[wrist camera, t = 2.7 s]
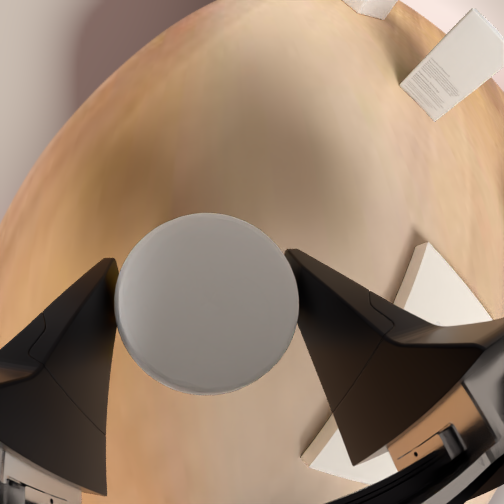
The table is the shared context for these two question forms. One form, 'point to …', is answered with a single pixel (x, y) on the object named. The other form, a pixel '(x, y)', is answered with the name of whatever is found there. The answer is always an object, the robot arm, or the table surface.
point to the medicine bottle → (372, 7)
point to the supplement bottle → (206, 304)
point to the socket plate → (426, 307)
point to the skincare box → (456, 65)
